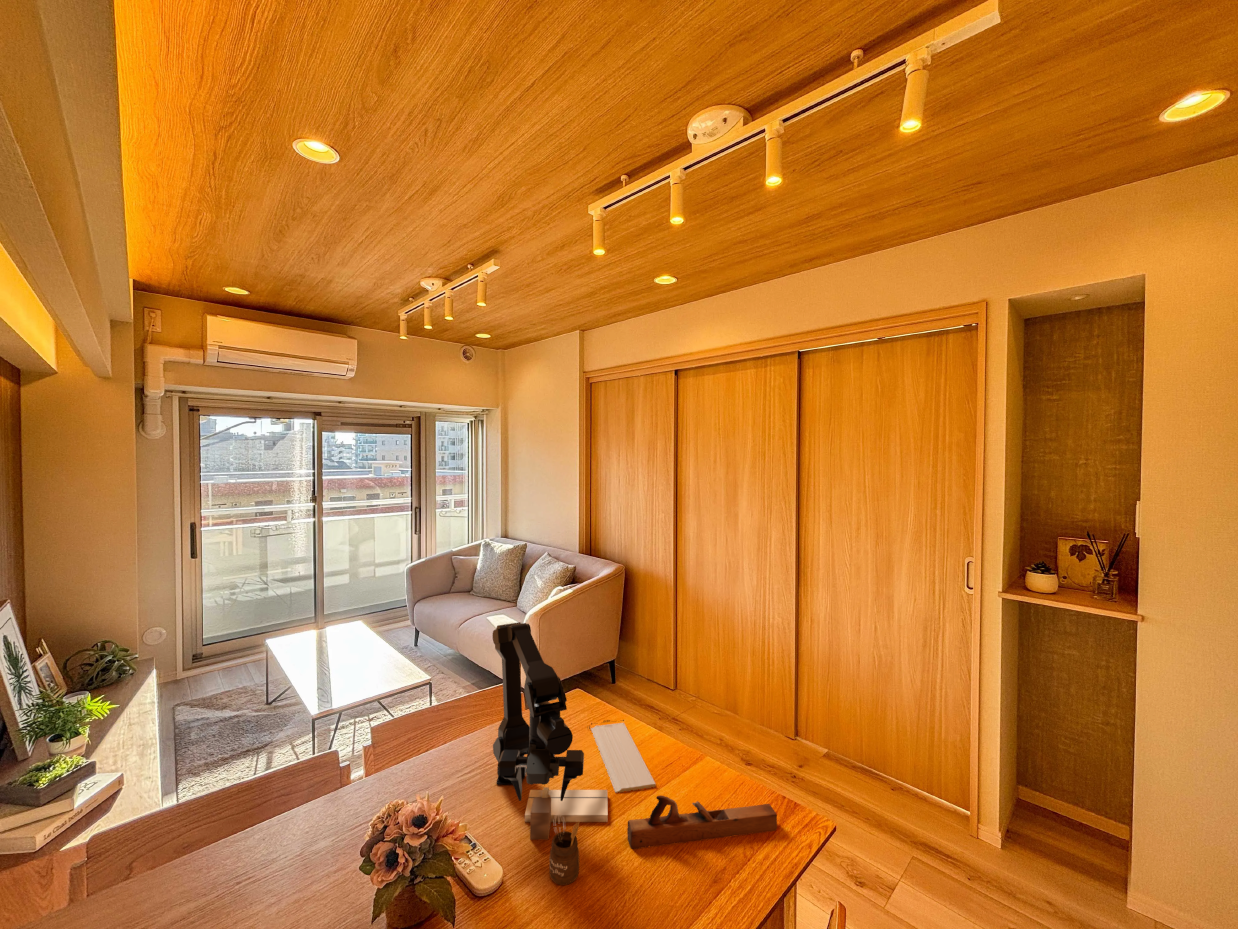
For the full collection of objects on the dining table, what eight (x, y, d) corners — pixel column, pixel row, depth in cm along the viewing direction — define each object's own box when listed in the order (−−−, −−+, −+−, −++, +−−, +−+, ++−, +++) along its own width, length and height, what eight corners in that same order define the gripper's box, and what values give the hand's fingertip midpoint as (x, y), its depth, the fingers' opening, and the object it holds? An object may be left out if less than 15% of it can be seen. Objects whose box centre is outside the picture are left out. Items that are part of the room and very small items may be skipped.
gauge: (530, 839, 114) (530, 812, 114) (537, 800, 127) (538, 776, 127) (548, 839, 114) (548, 812, 114) (554, 800, 127) (554, 776, 127)
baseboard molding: (609, 796, 130) (655, 789, 133) (610, 784, 130) (655, 778, 133) (586, 731, 160) (623, 727, 163) (586, 722, 160) (624, 718, 163)
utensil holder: (564, 858, 109) (565, 801, 109) (586, 874, 105) (587, 815, 105) (543, 875, 104) (544, 816, 104) (565, 892, 100) (566, 831, 100)
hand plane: (632, 856, 110) (633, 809, 110) (626, 838, 115) (627, 793, 115) (777, 831, 118) (778, 788, 118) (765, 816, 123) (766, 774, 123)
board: (524, 822, 119) (524, 815, 119) (530, 796, 128) (530, 789, 128) (607, 822, 120) (607, 814, 120) (607, 796, 129) (607, 789, 129)
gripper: (492, 751, 108) (491, 825, 108) (582, 751, 108) (581, 825, 109) (502, 723, 119) (501, 791, 119) (584, 724, 120) (583, 791, 120)
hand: (541, 799), depth 117 cm, fingers open, 9 cm apart
